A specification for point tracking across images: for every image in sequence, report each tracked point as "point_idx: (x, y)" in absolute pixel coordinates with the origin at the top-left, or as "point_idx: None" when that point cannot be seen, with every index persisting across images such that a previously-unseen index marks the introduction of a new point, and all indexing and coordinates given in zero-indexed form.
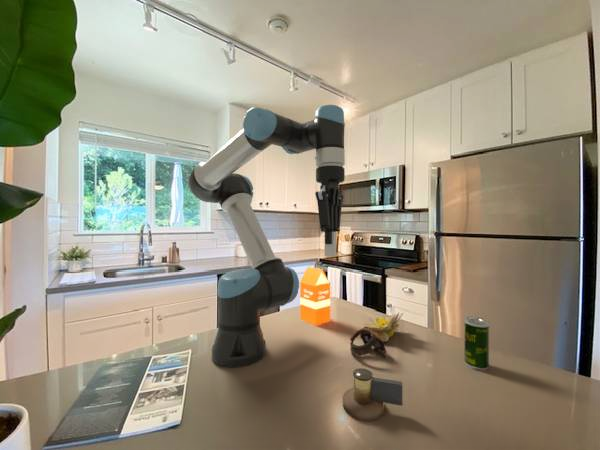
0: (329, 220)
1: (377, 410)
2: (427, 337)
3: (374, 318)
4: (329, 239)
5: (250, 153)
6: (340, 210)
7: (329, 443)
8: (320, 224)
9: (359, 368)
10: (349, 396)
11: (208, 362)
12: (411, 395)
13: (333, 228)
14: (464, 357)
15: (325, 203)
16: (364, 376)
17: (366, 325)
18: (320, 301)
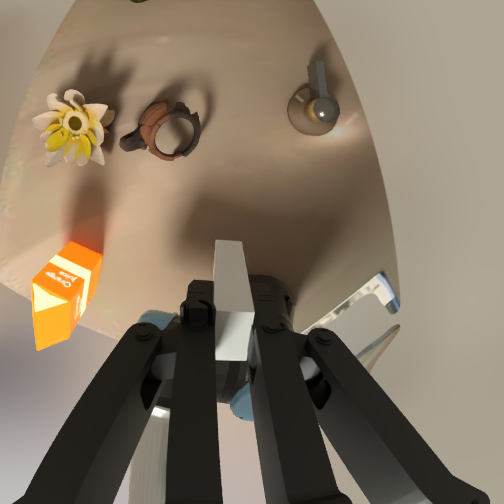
0: (342, 372)
1: (328, 94)
2: (64, 63)
3: (47, 158)
4: (272, 300)
5: None
6: (73, 444)
7: (371, 139)
8: (328, 387)
9: (316, 114)
10: (315, 127)
11: None
12: (263, 56)
13: (255, 332)
14: (136, 1)
15: (436, 463)
16: (334, 106)
17: (81, 159)
18: (73, 273)
